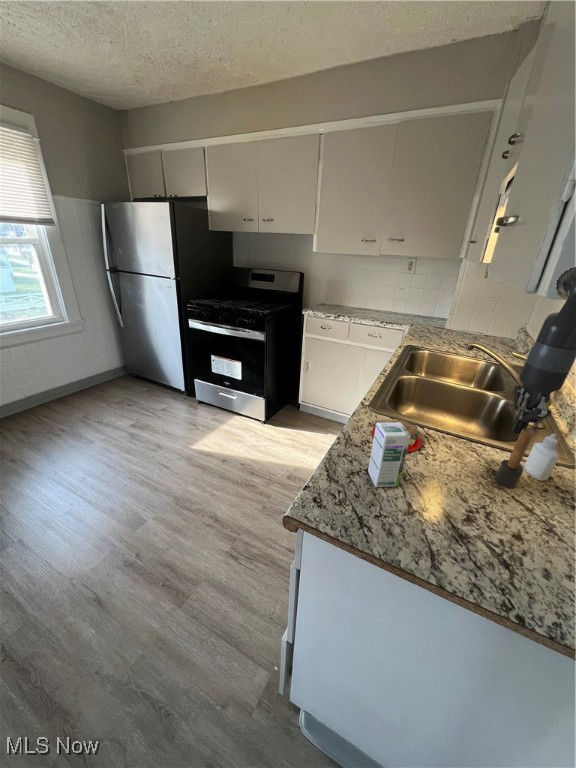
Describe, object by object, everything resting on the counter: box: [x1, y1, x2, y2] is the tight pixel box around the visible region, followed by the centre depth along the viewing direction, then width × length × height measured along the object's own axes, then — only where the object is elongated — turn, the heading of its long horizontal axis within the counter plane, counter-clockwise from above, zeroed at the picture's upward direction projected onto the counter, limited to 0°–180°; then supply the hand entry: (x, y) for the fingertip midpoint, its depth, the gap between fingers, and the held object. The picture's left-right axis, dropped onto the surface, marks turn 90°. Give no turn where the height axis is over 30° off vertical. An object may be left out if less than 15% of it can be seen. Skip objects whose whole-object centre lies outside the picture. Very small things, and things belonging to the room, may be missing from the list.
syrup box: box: [367, 421, 410, 488], centre depth 72 cm, size 6×6×14 cm
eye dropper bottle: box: [523, 433, 560, 482], centre depth 77 cm, size 4×6×12 cm
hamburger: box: [371, 419, 423, 453], centre depth 90 cm, size 14×14×6 cm
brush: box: [494, 427, 535, 490], centre depth 73 cm, size 4×4×15 cm
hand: (517, 431), depth 73 cm, fingers closed
